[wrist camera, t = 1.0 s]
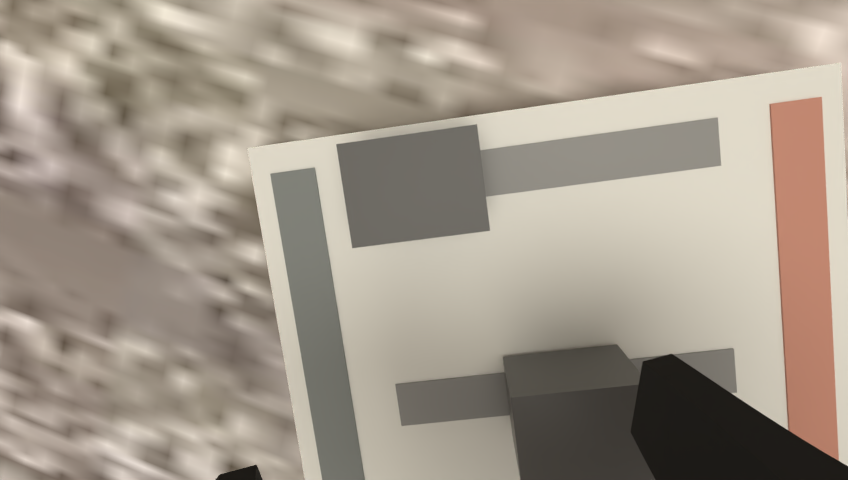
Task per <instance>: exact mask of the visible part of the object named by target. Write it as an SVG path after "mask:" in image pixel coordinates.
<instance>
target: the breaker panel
mask: <svg viewBox="0 0 848 480" xmlns="http://www.w3.org/2000/svg"><path fill="white" fill-rule="evenodd" d="M247 151H248V157H249V162H250V168H251V174H252V180H253V185H254V191H255V197H256V202H257V208H258V214H259V220H260V225H261V231H262V237H263V243H264V248H265V254H266V260H267V265H268V271H269V277H270V283H271V288H272V294H273V300H274V306H275V311H276V317H277V323H278V329H279V334H280V340H281V346H282V351H283V357H284V363H285V369H286V374H287V380H288V386H289V392H290V397H291V403H292V409H293V414H294V420H295V426H296V432H297V437H298V443H299V449H300V455H301V460H302V466H303V472H304V477H305V480H520V476H519V470H518V465H517V459H516V453H515V448H514V442H513V436H512V428H511V420H510V412H509V404H508V396H507V388H506V380H505V372H504V363H503V357H504V356H513V355H522V354H531V353H540V352H550V351H559V350H568V349H577V348H586V347H596V346H605V345H614V344H617V345H618V346H619V347H620V348H621V350H622V351H623V352H624V353H625V354H626V356H627V357H628V358H629V359H630V361H631V362H632V363H633V364H634V365H635V367H636V368H637V369H638V370H639V372H640V373H641V368H642V362H643V361H646V360H650V359H654V358H657V357H661V356H665V355H669V354H673V355H675V356H676V357H678V358H679V359H681V360H682V361H684V362H685V363H687V364H688V365H690V366H691V367H693V368H694V369H696V370H697V371H699V372H700V373H702V374H703V375H705V376H706V377H708V378H709V379H711V380H712V381H714V382H715V383H717V384H718V385H720V386H721V387H723V388H724V389H726V390H727V391H729V392H730V393H732V394H733V395H735V396H736V397H738V398H739V399H741V400H742V401H744V402H745V403H747V404H748V405H750V406H751V407H753V408H754V409H756V410H757V411H759V412H760V413H762V414H763V415H765V416H767V417H768V418H770V419H771V420H773V421H774V422H776V423H778V424H779V425H781V426H782V427H784V428H785V429H787V430H789V431H790V432H792V433H793V434H795V435H797V436H798V437H800V438H801V439H803V440H805V441H806V442H808V443H810V444H811V445H813V446H815V447H816V448H818V449H819V450H821V451H823V452H824V453H826V454H828V455H830V456H831V457H833V458H835V459H836V460H838V461H840V462H842V463H843V464H845V465H847V466H848V214H847V190H846V166H845V143H844V119H843V95H842V71H841V63H835V64H828V65H821V66H814V67H807V68H800V69H793V70H786V71H779V72H772V73H765V74H758V75H751V76H744V77H738V78H731V79H724V80H717V81H710V82H703V83H696V84H689V85H682V86H675V87H668V88H661V89H654V90H647V91H640V92H633V93H626V94H619V95H612V96H605V97H598V98H592V99H585V100H578V101H571V102H564V103H557V104H550V105H543V106H536V107H529V108H522V109H515V110H508V111H501V112H494V113H487V114H480V115H473V116H466V117H459V118H452V119H446V120H439V121H432V122H425V123H418V124H411V125H404V126H397V127H390V128H383V129H376V130H369V131H362V132H355V133H348V134H341V135H334V136H327V137H320V138H313V139H307V140H300V141H293V142H286V143H279V144H272V145H265V146H258V147H251V148H247Z"/></svg>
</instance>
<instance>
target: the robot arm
mask: <svg viewBox="0 0 848 480" xmlns="http://www.w3.org/2000/svg"><path fill="white" fill-rule="evenodd" d="M630 432H631V434H632V436H633V438H634V440H635V442H636V444H637V446H638V448H639V450H640V452H641V454H642V456H643V457H644V459H645V461H646V463H647V465H648V467H649V469H650V470H651V472H652V474H653V476H654V478H655V480H848V466H847V465H845V464H843V463H842V462H840V461H838V460H836V459H835V458H833V457H831V456H830V455H828V454H826V453H824V452H823V451H821V450H819V449H818V448H816V447H815V446H813V445H811V444H810V443H808V442H806V441H805V440H803V439H801V438H800V437H798V436H797V435H795V434H793V433H792V432H790V431H789V430H787V429H785V428H784V427H782V426H781V425H779V424H778V423H776V422H774V421H773V420H771V419H770V418H768V417H767V416H765V415H763V414H762V413H760V412H759V411H757V410H756V409H754V408H753V407H751V406H750V405H748V404H747V403H745V402H744V401H742V400H741V399H739V398H738V397H736V396H735V395H733V394H732V393H730V392H729V391H727V390H726V389H724V388H723V387H721V386H720V385H718V384H717V383H715V382H714V381H712V380H711V379H709V378H708V377H706V376H705V375H703V374H702V373H700V372H699V371H697V370H696V369H694V368H693V367H691V366H690V365H688V364H687V363H685V362H684V361H682V360H681V359H679V358H678V357H676V356H675V355H673V354H669V355H665V356H661V357H657V358H654V359H650V360H646V361H643V362H642V368H641V374H640V380H639V385H638V391H637V397H636V403H635V408H634V414H633V420H632V426H631V431H630ZM216 480H262V477H261V475H260V472H259V470H258V467H257V465H254V466H250V467H246V468H243V469H239V470H235V471H232V472H228V473H224V474H220V475H219V476H218V477H217V479H216Z"/></svg>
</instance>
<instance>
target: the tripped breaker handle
mask: <svg viewBox="0 0 848 480" xmlns="http://www.w3.org/2000/svg"><path fill="white" fill-rule="evenodd" d="M503 363H504V372H505V380H506V388H507V396H508V404H509V412H510V420H511V428H512V436H513V442H514V448H515V453H516V459H517V465H518V470H519V476H520V480H655V478H654V476H653V474H652V472H651V470H650V469H649V467H648V465H647V463H646V461H645V459H644V457H643V456H642V454H641V452H640V450H639V448H638V446H637V444H636V442H635V440H634V438H633V436H632V434H631V432H630V431H631V426H632V420H633V414H634V408H635V403H636V397H637V391H638V385H639V380H640V374H641V373H640V372H639V370H638V369H637V368H636V367H635V365H634V364H633V363H632V362H631V361H630V359H629V358H628V357H627V356H626V354H625V353H624V352H623V351H622V350H621V348H620V347H619V346H618V345H617V344H614V345H605V346H596V347H586V348H577V349H568V350H559V351H550V352H540V353H531V354H522V355H513V356H504V357H503Z"/></svg>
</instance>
